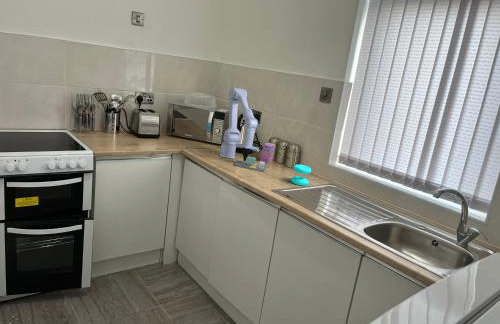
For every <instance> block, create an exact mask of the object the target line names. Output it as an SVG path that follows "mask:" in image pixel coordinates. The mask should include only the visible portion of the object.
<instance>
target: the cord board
mask: <svg viewBox="0 0 500 324" xmlns="http://www.w3.org/2000/svg"><path fill="white" fill-rule="evenodd" d="M234 167H238V168H243V169H248V170H252V171H258V172H261V173H265V171H266V168H267V165H266V163H265V162H261V161H259V163H255V164H254V165H249V164H246V161H243V160H237V161H236V162H235V163H234Z"/></svg>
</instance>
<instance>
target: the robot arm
mask: <svg viewBox="0 0 500 324" xmlns="http://www.w3.org/2000/svg"><path fill="white" fill-rule="evenodd" d="M247 97H248V92H247V89H245V88H240V87H239V88H238V87H234V86H233V87H230V89H229V92H228V101H229V111H228V112H229V114H228V128H227V129H226V130H224V134H223V142H221V146H220V151H219V157H223V158H227V159H230V160H235V158H236V157H237V156H236V149H237V148H239V149H241V152H242V155H243V156H242V158H243V160H242V161H244V162H246V161H247V157H248V156H249V155H250V153H251V151H253V152H260V151H259V150H260V147H258V146H257V147H256V146H253V142H254V138H255V132H256V130H257V129H258V126H259V120H258V119H257V118H256V117H255V116H254V113H253V111H252V109H251V108H249V103H248V100H247ZM239 103H240V106H241V108H242V116H243V118H244V134H243V135H244V136H243V140H242V143H240V142H241V133H240V132H241V131H240V130H239V129H238V110H239V108H238V107H239V105H238V104H239Z"/></svg>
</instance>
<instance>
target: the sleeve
mask: <svg viewBox="0 0 500 324" xmlns="http://www.w3.org/2000/svg"><path fill="white" fill-rule="evenodd" d="M256 161H257V158H256V157H253V156H249V155H248V156H247V158H246V161H245V162H246V164H249V165H254V164H256Z"/></svg>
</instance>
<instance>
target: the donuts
mask: <svg viewBox="0 0 500 324" xmlns="http://www.w3.org/2000/svg"><path fill="white" fill-rule="evenodd" d="M293 171H294V172H296V173H298V174H300V175H309V174H311V173H312V168H311V167H310V166H307V165H305V164H304V165H303V164H295V165H293ZM300 175H293V176H292V177H291V178H290V182H291V183H292V184H294V185H296V186H303V187H305V186H308V184H309V183H310V182H309V180H308V179H307V178H305V177H304V176H300Z"/></svg>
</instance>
